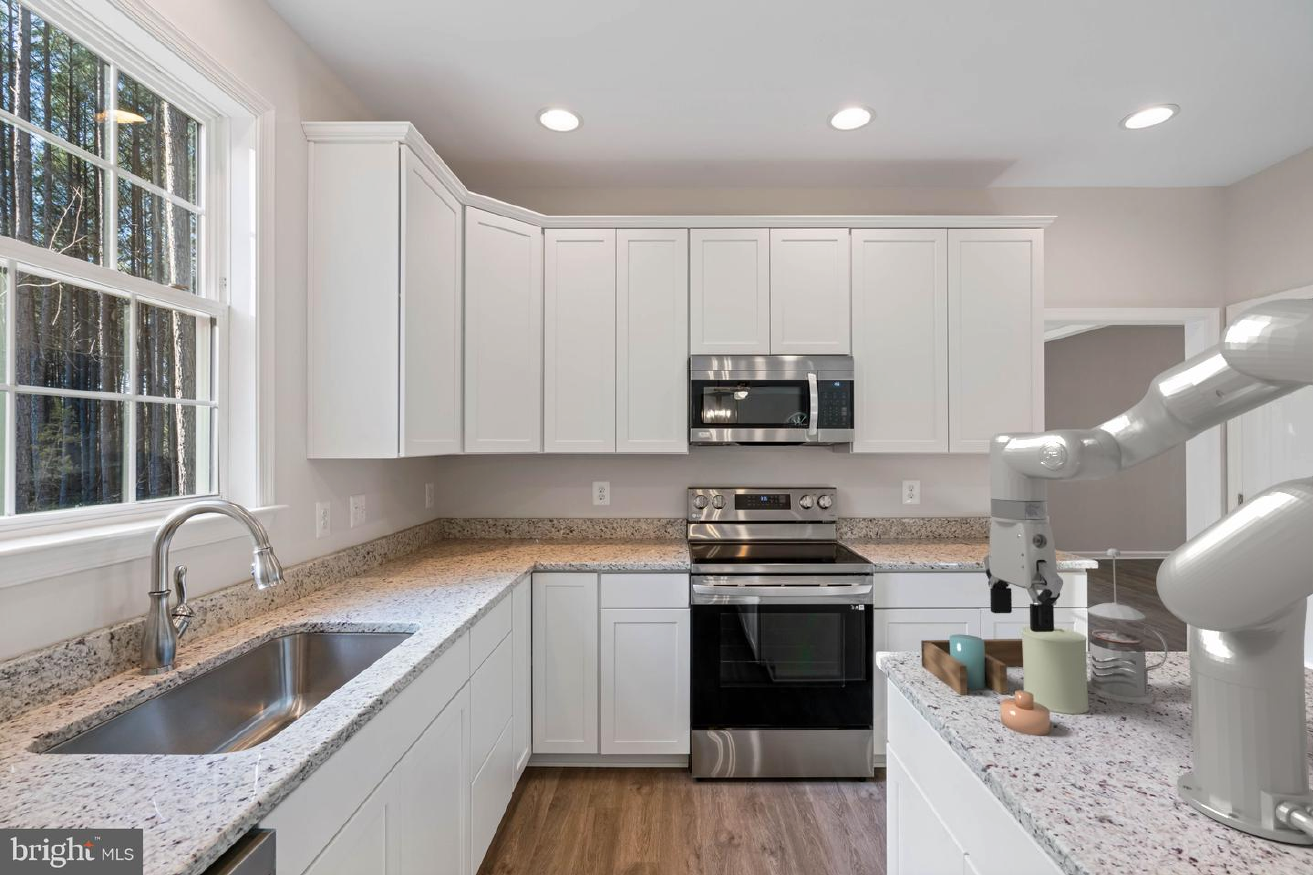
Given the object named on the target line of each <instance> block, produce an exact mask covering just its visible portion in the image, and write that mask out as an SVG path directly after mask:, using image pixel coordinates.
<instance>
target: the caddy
mask: <svg viewBox="0 0 1313 875" xmlns="http://www.w3.org/2000/svg"><path fill="white" fill-rule="evenodd" d="M983 640H984V649H985V685H986V686H988V688H990V689H992V690H993V691H995V692H996V693H998V694H1000V695H1008V667H1009V668H1010V667H1011V668H1012V667H1015V666H1018V667H1023V644H1022V638H993V639H992V638H990V639H987V638H985V639H983ZM920 643H921V646H920V647H921V648H920V649H921V667H923V668H924V669H925V670H927V671H928V672H929V673H930V674H932V675H933V676H934V677H936V678H937V679H939V681H941V682H942V683H944V684H945V685H946V686H947V687H949V688H950V689H952V690H953V691H954V692H956V693H957V694H958V695H959V696H967V695H968V689H967V667H966V665H964V664H963V663H961V662H960V661H958V660H957V659H955V658H954V657H952V656H950V639H940V640H939V639H937V640H936V639H935V640H934V639H931V640H925V639H924V640H923V639H922V640H921V641H920Z"/></svg>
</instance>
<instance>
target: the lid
mask: <svg viewBox="0 0 1313 875" xmlns="http://www.w3.org/2000/svg"><path fill="white" fill-rule="evenodd" d="M1050 712H1051V711H1049V709H1048V708H1047V707H1045V706H1043V705H1041V704H1039V703H1036V702H1034V699H1033V694H1032V693H1030V692H1027V691H1024V690H1015V692H1014V697H1009V698H1008V697H1007V698H1003V699H1002V700H1000V723H1001V724H1002V725H1003V726H1004V727H1005V728H1007V729H1009V730H1011V731H1013V732H1015V733H1019V734H1023V735H1028V736H1035V737H1036V736H1037V737H1040V736H1045V735H1049V733H1051V721H1050V720H1051V718H1050V717H1051V716H1050V715H1051V713H1050Z"/></svg>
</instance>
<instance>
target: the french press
mask: <svg viewBox="0 0 1313 875" xmlns="http://www.w3.org/2000/svg"><path fill="white" fill-rule="evenodd" d="M1106 555H1107V556H1110V557H1112V567H1113V568H1112V570H1113V590H1114V591H1113V593H1114V594H1113V596H1114V597H1113V598H1114V602H1111V603H1110V602H1103V603H1099V604H1095V605H1093V606H1091V607H1088V608H1087V610H1086V611H1087V612H1088V614H1089V615H1091V616H1093V617H1096V618H1100V619H1103V620H1109V621H1114V624H1115V630H1110V629H1097V630H1093V631H1092V632H1090V633H1091V635H1092V637H1093V638H1091V639H1089V657H1090V658H1089V660H1090V662H1089V663H1090V666H1089V667H1090V680H1087V692H1090V693H1092V694H1093V693H1096V694H1098V695H1099V697H1101V696H1102V697H1101V698H1104V697H1105V698H1104V699H1107V698H1108V699H1107V700H1111V699H1112V701H1116V702H1120V701H1121V702H1122V703H1127V704H1135V705H1136V704H1139V705H1143V704H1145V703H1146V704H1152V703H1153V702H1154V701H1153V700H1154V698H1155V696H1154V695H1153V694H1152V693H1151V691H1149V676H1148V675H1149V674H1148V672H1149V671H1153V670H1158V669H1159V668H1161V667H1162V666H1163V665H1164V664H1165V662H1166V660H1167V657H1168V648H1169V647H1168V642H1167V641H1166V639H1165V637H1164V636H1163V634H1162V633H1161V632H1160V631H1159V630H1157V629H1156V628H1155V627H1153V626H1152V625H1150V624H1144V625H1143V627H1142V634H1143V635H1146V633H1147V630H1149V631H1151V632H1153V633H1155V635H1157V637H1159V639H1160V640H1161V642H1162V644H1163V647H1164V657H1163V658H1162V660H1161V662H1159V663H1157V664H1154V665H1149V666H1147V665H1146V648H1145V647H1144V646H1143V645H1141V644H1142V643H1143V642H1144V640H1143V638H1142V637H1141V636H1137V634H1136V635H1135V634H1131V633H1128V632H1124V631H1118V624H1117V623H1118V622H1123V623H1127V622H1128V623H1136V622H1137V623H1140V622H1142V621H1145V619H1146V615H1145V614H1143V613H1142V612H1141V611H1139V610H1137V609H1135V608H1133V607H1132V606H1131V607H1130V606H1128V605H1125V604H1120V603H1117V589H1116V587H1117V586H1116V558H1115V557H1121V551H1120V550H1118V549H1116V548H1109V549H1108V550H1107V551H1106ZM1119 647H1120V648H1121V647H1122V648H1129V649H1131V650H1133V652H1132V651H1130V650H1121V649H1118V650H1113V649H1116V648H1119ZM1134 651H1135V652H1134ZM1097 659H1098V660H1097ZM1105 659H1106V660H1105ZM1107 659H1108V660H1107ZM1096 694H1095V695H1096ZM1098 695H1097V696H1098ZM1153 696H1154V697H1153ZM1152 701H1153V702H1152ZM1121 702H1120V703H1121Z"/></svg>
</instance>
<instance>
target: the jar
mask: <svg viewBox="0 0 1313 875" xmlns="http://www.w3.org/2000/svg"><path fill="white" fill-rule="evenodd" d="M949 640H950V656H952V657H954V658H955V659H957V660H958V661H960V662H961V663H963V664H964V665H966V667H967V690H976V691H977V690H983V689H985V688H986V686H987V685H986V684H985V649H984V640H983V639H982V638H981V637H978V636H976V635H975V636H974V635H969V634H960V633H959V634H952V635H949Z"/></svg>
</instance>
